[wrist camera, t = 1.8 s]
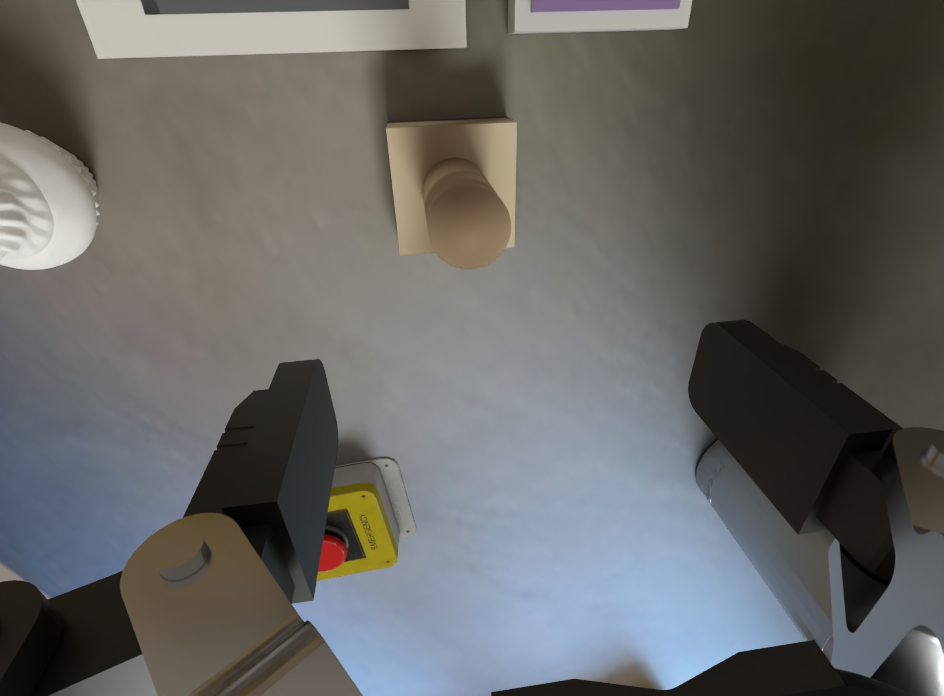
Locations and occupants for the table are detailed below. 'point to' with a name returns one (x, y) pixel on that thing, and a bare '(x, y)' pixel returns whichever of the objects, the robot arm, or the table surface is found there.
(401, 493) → the emergency button
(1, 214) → the white rounded piece
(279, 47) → the sheet
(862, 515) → the robot arm
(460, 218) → the stamp
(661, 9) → the ink pad
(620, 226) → the table surface
